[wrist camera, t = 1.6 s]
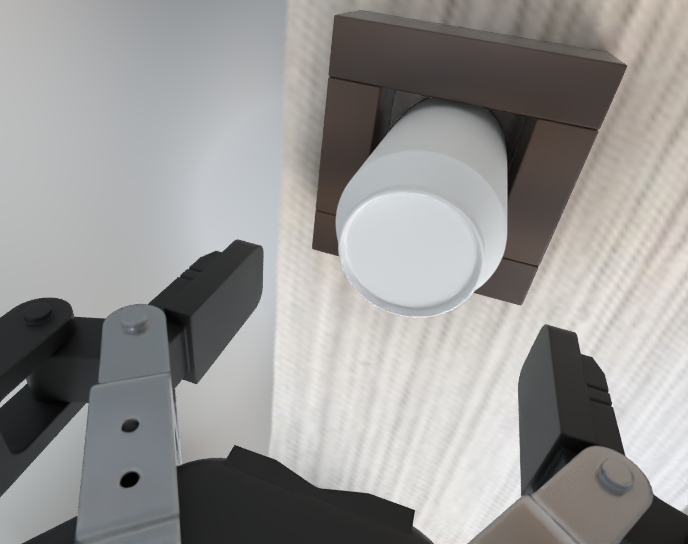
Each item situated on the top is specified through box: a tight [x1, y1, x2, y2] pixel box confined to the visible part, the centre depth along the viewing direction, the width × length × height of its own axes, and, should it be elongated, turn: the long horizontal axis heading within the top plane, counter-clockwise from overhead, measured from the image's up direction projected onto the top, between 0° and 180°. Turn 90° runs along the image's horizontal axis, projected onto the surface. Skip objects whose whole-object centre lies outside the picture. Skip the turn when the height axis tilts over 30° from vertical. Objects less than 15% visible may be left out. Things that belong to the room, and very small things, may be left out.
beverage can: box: [336, 97, 507, 318], centre depth 20 cm, size 6×6×12 cm
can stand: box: [312, 10, 627, 305], centre depth 23 cm, size 12×12×4 cm
